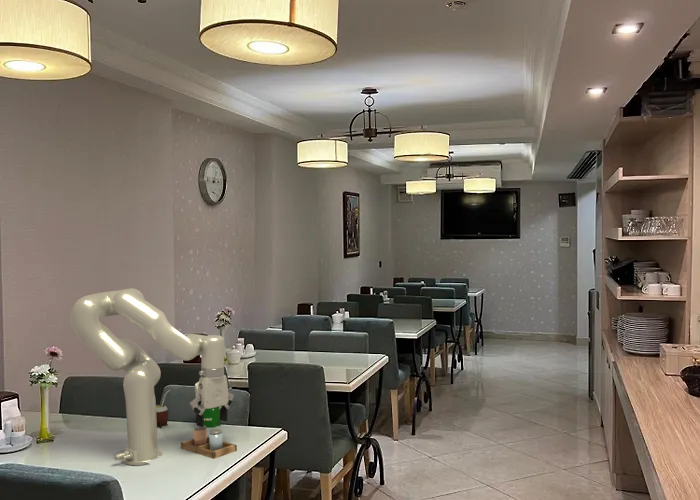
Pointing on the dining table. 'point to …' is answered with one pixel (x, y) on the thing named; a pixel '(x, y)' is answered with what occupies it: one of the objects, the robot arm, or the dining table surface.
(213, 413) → the milk carton
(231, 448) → the caddy
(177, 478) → the dining table surface
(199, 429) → the pepper shaker
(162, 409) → the mate gourd
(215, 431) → the salt shaker
